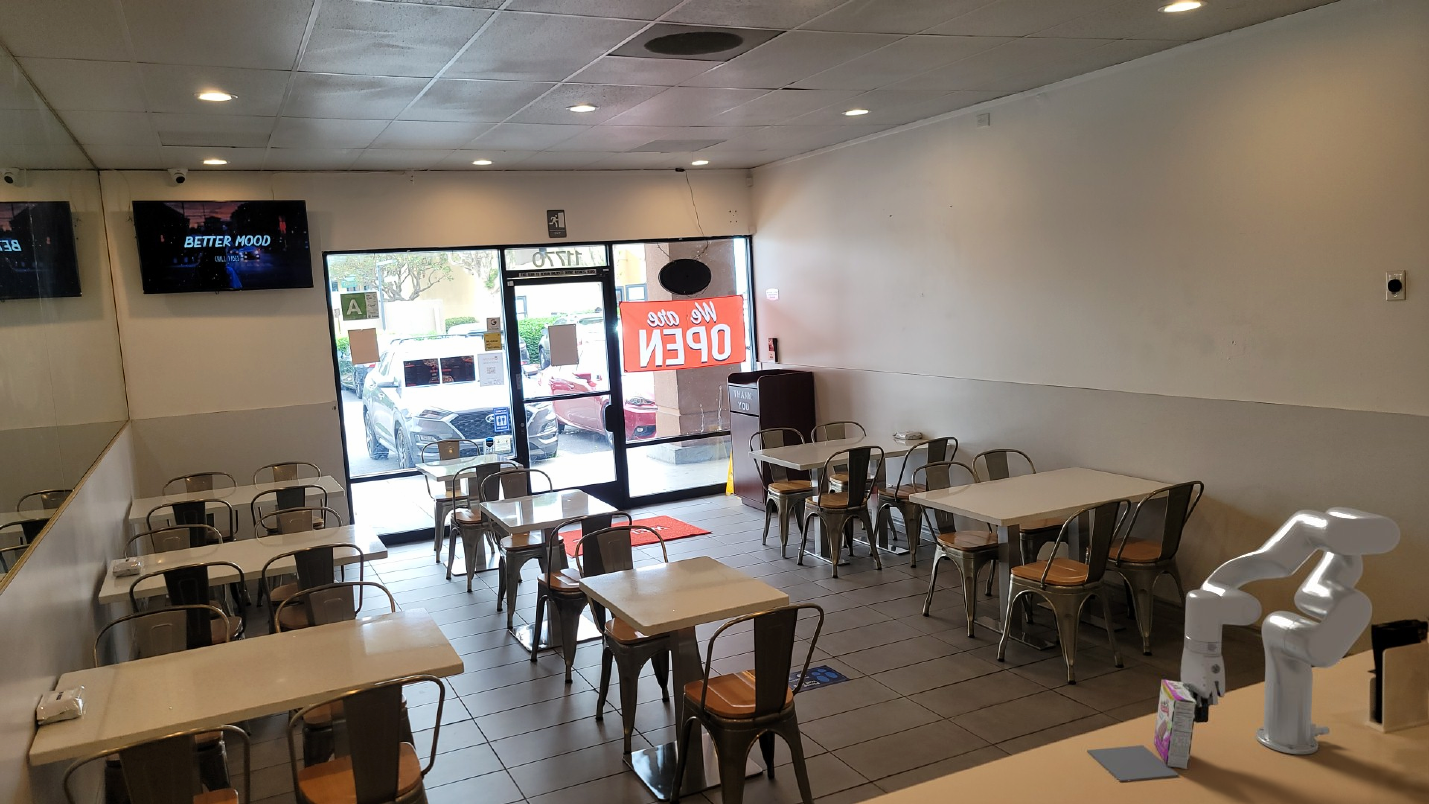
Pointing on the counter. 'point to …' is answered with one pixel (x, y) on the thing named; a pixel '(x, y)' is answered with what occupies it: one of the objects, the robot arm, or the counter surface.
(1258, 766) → the counter surface
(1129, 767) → the rubber mat
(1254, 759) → the counter surface
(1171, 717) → the candy bar box
